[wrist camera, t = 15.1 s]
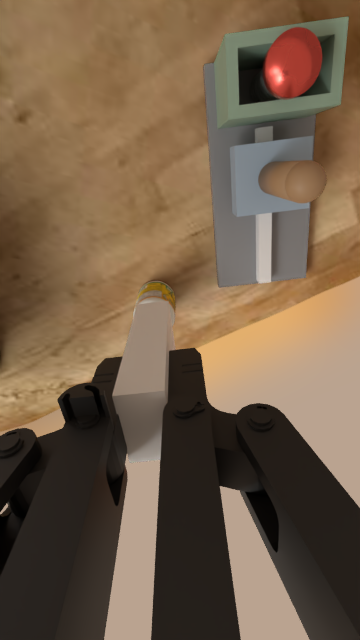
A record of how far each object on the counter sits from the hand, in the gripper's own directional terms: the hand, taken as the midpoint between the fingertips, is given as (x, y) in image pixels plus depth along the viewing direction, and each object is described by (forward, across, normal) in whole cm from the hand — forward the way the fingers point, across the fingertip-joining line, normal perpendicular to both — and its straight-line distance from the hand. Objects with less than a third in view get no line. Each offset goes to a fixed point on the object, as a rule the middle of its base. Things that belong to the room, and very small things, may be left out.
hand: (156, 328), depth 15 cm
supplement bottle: (+30, -3, -10) cm, 31 cm away
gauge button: (+27, +12, +13) cm, 32 cm away
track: (+29, +12, +4) cm, 32 cm away
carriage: (+28, +12, +5) cm, 31 cm away
